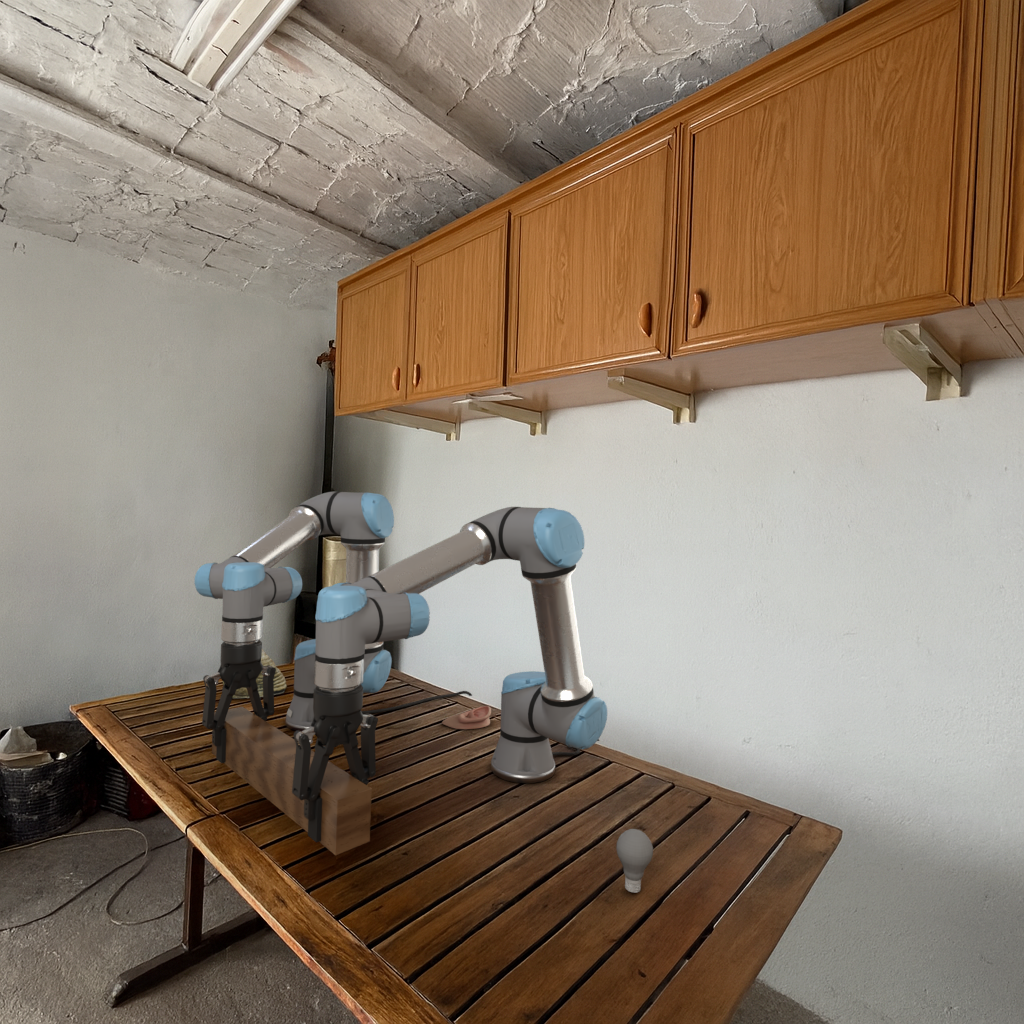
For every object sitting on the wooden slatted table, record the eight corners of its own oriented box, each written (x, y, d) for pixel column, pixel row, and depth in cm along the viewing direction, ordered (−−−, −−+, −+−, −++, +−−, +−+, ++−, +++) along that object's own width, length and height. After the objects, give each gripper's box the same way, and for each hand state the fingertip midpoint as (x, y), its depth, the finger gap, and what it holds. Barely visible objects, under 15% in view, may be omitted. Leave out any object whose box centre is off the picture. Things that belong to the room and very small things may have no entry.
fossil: (218, 695, 195) (220, 647, 195) (278, 685, 208) (279, 640, 207) (228, 703, 189) (230, 653, 188) (289, 692, 201) (290, 645, 201)
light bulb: (610, 879, 108) (613, 822, 108) (644, 879, 109) (647, 822, 109) (619, 902, 102) (622, 840, 102) (655, 901, 103) (658, 840, 103)
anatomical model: (438, 712, 177) (451, 700, 188) (438, 726, 177) (450, 713, 188) (484, 718, 174) (494, 705, 185) (484, 732, 174) (493, 718, 185)
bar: (211, 753, 128) (212, 712, 128) (241, 745, 132) (242, 706, 132) (335, 855, 94) (337, 800, 94) (369, 841, 98) (371, 788, 98)
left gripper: (198, 651, 116) (194, 776, 117) (295, 638, 130) (291, 750, 130) (184, 643, 122) (180, 762, 122) (279, 631, 135) (275, 739, 136)
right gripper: (292, 703, 90) (287, 863, 91) (402, 680, 104) (397, 819, 104) (269, 690, 95) (264, 842, 96) (377, 670, 109) (372, 803, 109)
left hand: (238, 756), depth 126 cm, fingers closed on bar, 6 cm apart
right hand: (333, 830), depth 100 cm, fingers closed on bar, 6 cm apart
